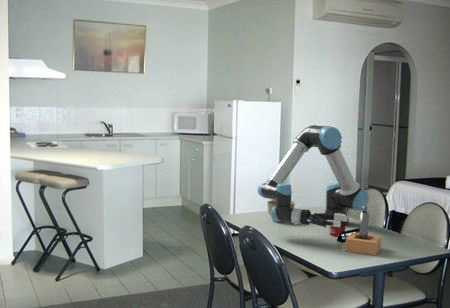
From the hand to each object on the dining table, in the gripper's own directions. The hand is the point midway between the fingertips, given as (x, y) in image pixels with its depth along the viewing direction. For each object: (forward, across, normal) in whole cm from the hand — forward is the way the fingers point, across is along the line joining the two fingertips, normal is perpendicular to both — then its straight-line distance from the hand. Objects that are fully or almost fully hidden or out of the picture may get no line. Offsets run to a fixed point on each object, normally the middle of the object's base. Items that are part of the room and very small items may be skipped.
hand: (343, 221), depth 262 cm
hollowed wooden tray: (+10, 0, -13) cm, 16 cm away
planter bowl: (-46, -39, -13) cm, 62 cm away
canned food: (-8, -22, -13) cm, 27 cm away
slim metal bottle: (+10, 0, -13) cm, 16 cm away
